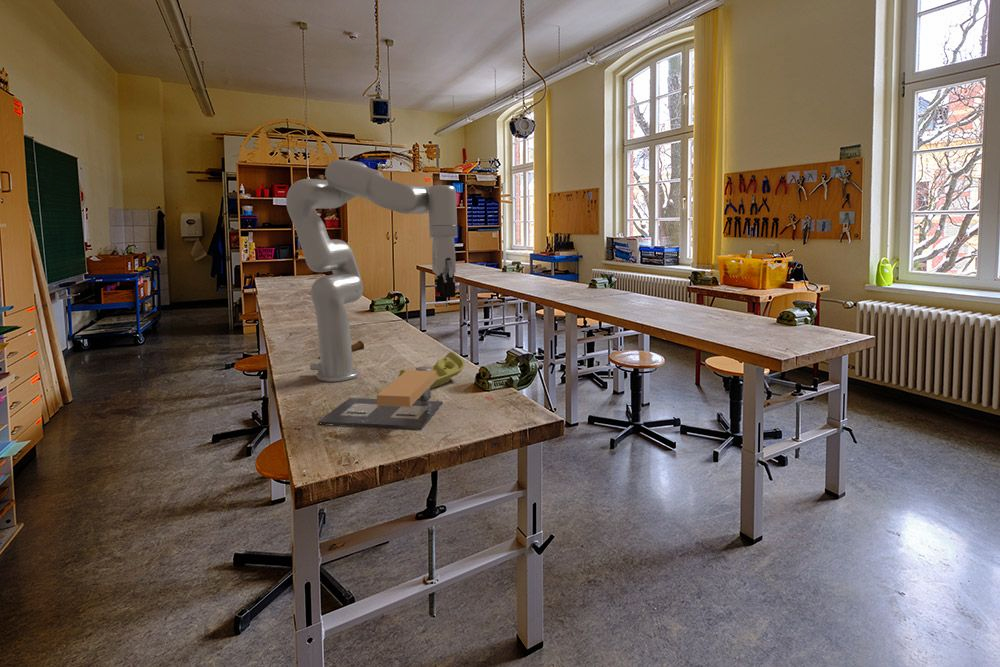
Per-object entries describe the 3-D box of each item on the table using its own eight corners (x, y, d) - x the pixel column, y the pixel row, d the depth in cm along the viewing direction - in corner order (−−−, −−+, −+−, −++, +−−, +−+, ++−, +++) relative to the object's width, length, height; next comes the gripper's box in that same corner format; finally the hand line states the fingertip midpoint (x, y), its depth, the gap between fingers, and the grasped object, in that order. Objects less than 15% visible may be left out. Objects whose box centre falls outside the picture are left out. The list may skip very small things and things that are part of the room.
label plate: (318, 424, 138) (316, 402, 137) (358, 394, 161) (356, 374, 159) (421, 429, 134) (420, 406, 132) (447, 397, 156) (447, 377, 155)
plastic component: (421, 386, 160) (399, 366, 164) (416, 405, 163) (394, 385, 168) (470, 366, 174) (449, 348, 178) (465, 384, 177) (444, 366, 182)
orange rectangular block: (377, 405, 133) (376, 395, 132) (412, 374, 157) (412, 366, 157) (410, 406, 131) (409, 396, 131) (440, 375, 156) (440, 366, 155)
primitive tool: (327, 361, 199) (326, 351, 199) (316, 359, 202) (315, 350, 201) (366, 350, 216) (365, 340, 215) (355, 348, 218) (354, 339, 217)
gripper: (424, 231, 162) (427, 291, 165) (435, 233, 146) (438, 300, 149) (450, 231, 164) (452, 290, 167) (464, 232, 148) (466, 298, 151)
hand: (445, 294), depth 158 cm, fingers open, 9 cm apart
